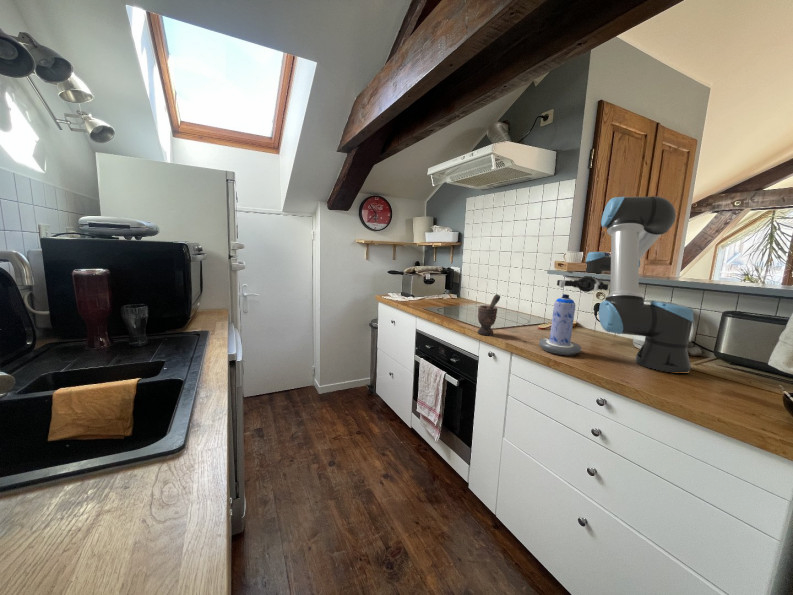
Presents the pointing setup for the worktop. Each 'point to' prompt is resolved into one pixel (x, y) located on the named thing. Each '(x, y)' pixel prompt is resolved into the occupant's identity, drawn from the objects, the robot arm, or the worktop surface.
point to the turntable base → (559, 352)
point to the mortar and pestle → (487, 316)
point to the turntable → (563, 349)
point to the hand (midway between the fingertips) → (577, 285)
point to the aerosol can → (562, 321)
